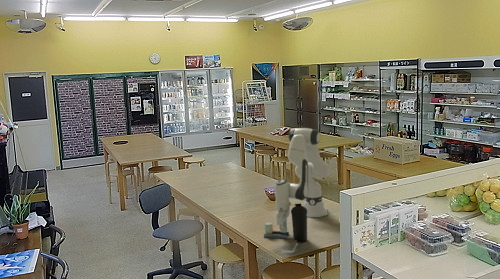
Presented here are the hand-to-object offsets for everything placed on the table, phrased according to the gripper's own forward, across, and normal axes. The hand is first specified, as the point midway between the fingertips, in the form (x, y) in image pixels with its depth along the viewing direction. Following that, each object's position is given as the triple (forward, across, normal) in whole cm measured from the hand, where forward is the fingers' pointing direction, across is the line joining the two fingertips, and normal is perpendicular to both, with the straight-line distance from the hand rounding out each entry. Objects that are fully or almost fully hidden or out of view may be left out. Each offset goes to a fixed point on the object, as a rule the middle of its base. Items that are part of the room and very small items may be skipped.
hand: (283, 226), depth 278 cm
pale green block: (+3, 0, 0) cm, 3 cm away
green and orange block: (+6, 0, +10) cm, 12 cm away
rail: (+8, 0, +5) cm, 9 cm away
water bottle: (+8, -2, -11) cm, 14 cm away
